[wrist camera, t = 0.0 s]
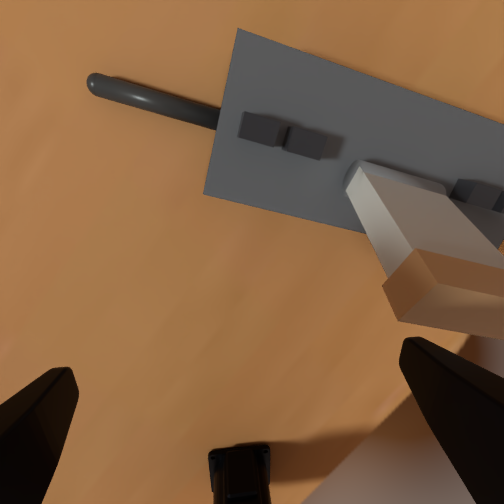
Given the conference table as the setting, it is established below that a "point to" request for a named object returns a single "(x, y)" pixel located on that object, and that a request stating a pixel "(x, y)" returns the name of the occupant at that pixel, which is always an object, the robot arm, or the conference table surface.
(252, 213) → the conference table surface
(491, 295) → the lever
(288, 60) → the breaker box
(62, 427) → the robot arm
